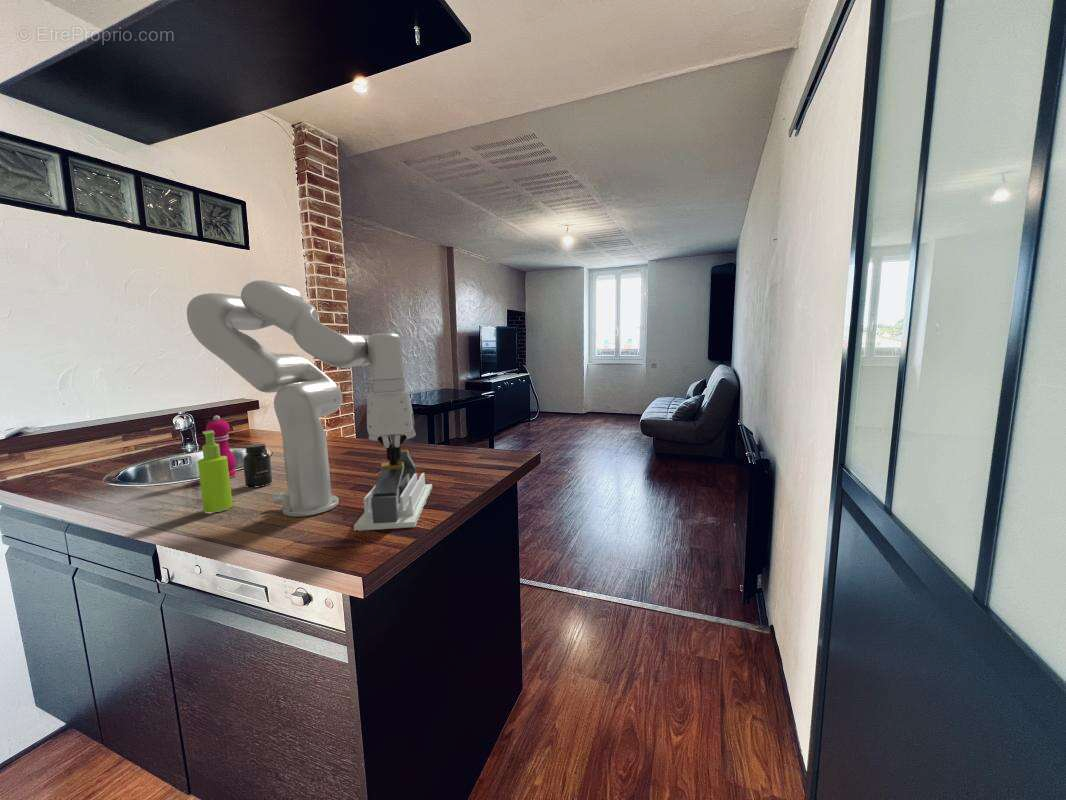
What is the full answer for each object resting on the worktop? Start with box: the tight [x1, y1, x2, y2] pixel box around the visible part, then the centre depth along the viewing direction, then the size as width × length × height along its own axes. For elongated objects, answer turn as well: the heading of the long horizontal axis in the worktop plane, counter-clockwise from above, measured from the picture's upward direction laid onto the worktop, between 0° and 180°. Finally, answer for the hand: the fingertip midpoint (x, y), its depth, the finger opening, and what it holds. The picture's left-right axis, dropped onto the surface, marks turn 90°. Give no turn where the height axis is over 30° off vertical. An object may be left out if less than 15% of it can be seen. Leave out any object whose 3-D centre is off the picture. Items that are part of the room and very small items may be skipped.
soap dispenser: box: [197, 430, 234, 512], centre depth 106 cm, size 6×7×20 cm
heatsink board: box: [353, 465, 433, 532], centre depth 105 cm, size 13×26×7 cm, turn 5°
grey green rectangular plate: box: [399, 449, 416, 469], centre depth 111 cm, size 5×10×2 cm
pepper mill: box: [205, 415, 237, 477], centre depth 134 cm, size 7×7×20 cm
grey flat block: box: [373, 462, 404, 497], centre depth 98 cm, size 5×10×2 cm, turn 5°
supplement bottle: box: [242, 443, 273, 488], centre depth 126 cm, size 7×7×12 cm
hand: (394, 462), depth 102 cm, fingers closed
